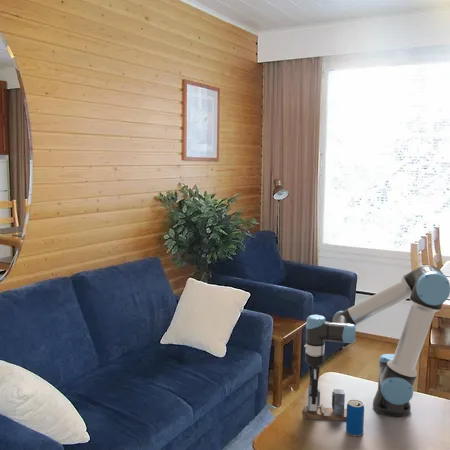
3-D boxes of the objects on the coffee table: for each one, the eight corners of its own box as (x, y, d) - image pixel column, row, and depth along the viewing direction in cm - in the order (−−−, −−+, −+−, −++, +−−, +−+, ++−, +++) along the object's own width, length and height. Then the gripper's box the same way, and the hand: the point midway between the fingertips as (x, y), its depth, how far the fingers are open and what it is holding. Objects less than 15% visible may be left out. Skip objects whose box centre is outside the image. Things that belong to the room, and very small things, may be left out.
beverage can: (360, 438, 192) (361, 408, 191) (343, 434, 196) (344, 404, 194) (365, 431, 198) (366, 401, 196) (349, 426, 201) (350, 397, 199)
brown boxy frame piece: (347, 412, 212) (348, 388, 211) (349, 420, 205) (350, 396, 204) (303, 409, 214) (304, 385, 213) (304, 418, 207) (304, 393, 206)
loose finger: (308, 410, 208) (308, 389, 207) (307, 405, 212) (308, 385, 211) (319, 411, 208) (320, 390, 207) (318, 406, 212) (319, 385, 211)
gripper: (304, 345, 216) (302, 397, 219) (306, 361, 199) (304, 417, 202) (322, 346, 215) (320, 398, 218) (325, 362, 198) (323, 418, 201)
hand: (312, 407), depth 210 cm, fingers closed on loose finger, 4 cm apart
